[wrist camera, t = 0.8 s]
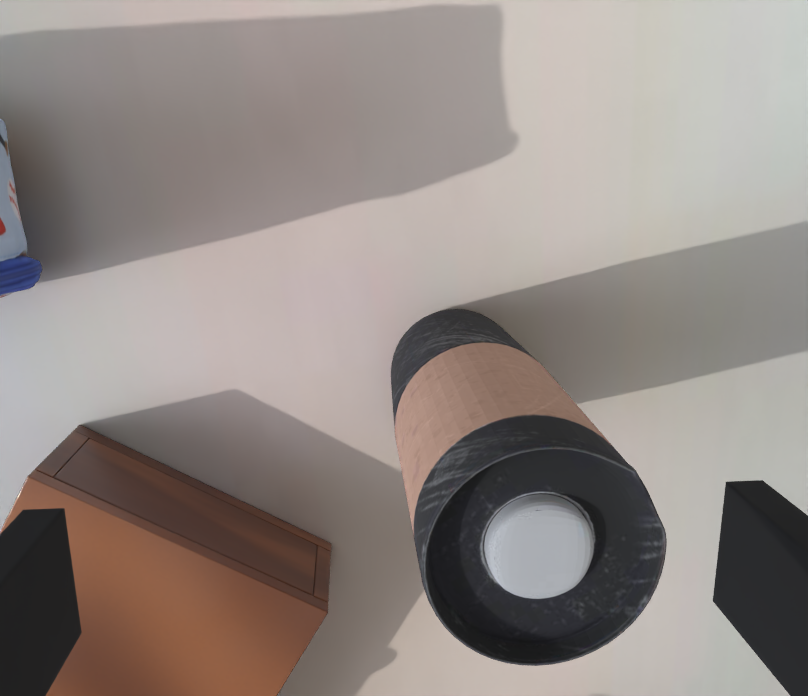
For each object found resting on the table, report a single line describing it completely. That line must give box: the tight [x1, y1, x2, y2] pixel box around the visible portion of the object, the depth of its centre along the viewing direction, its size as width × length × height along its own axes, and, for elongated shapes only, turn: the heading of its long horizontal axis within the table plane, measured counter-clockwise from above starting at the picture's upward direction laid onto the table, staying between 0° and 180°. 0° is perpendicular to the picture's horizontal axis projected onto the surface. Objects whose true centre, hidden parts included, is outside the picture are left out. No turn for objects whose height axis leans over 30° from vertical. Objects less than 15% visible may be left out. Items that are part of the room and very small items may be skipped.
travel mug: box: [391, 309, 666, 666], centre depth 31 cm, size 8×8×20 cm
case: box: [35, 425, 331, 603], centre depth 40 cm, size 18×16×6 cm
